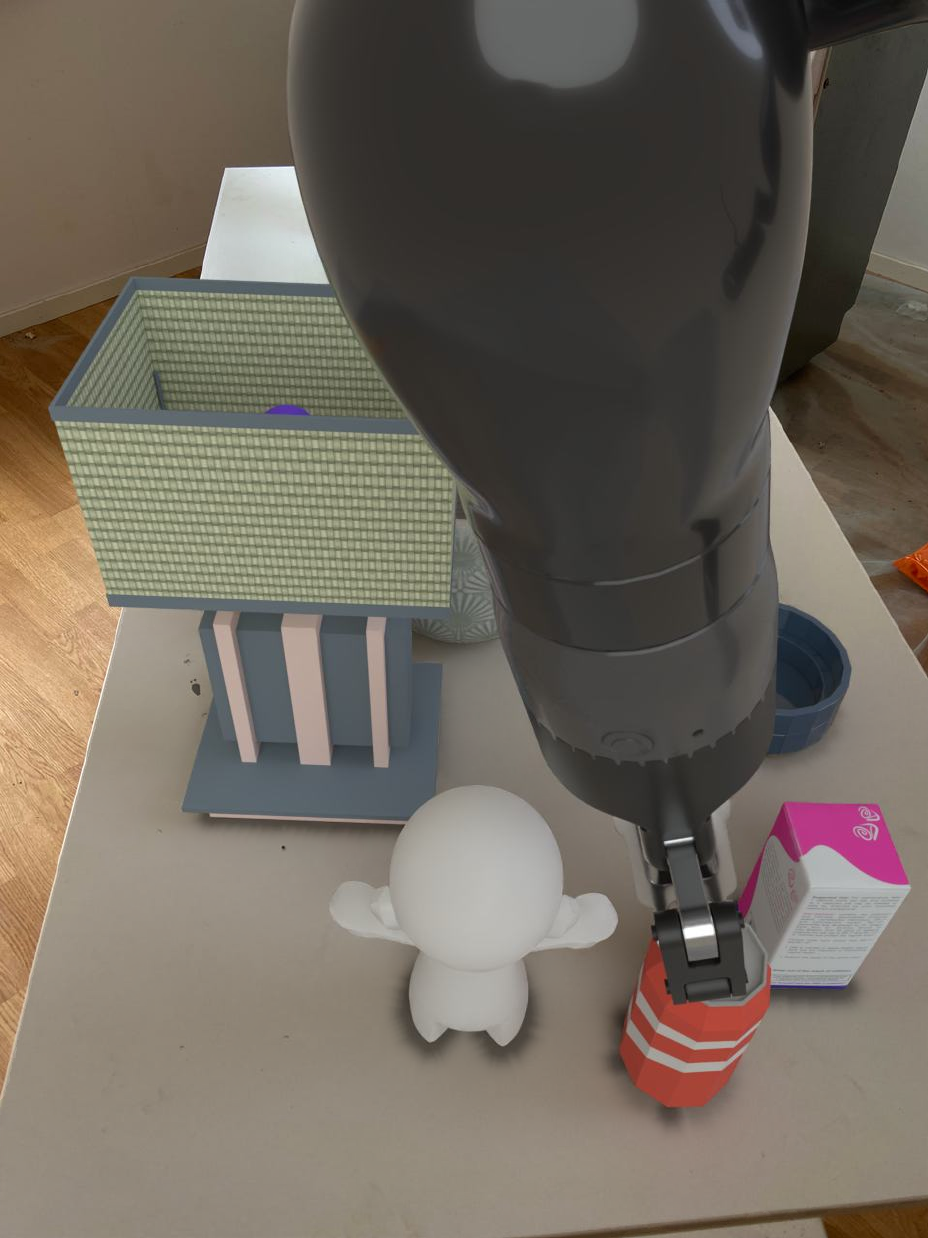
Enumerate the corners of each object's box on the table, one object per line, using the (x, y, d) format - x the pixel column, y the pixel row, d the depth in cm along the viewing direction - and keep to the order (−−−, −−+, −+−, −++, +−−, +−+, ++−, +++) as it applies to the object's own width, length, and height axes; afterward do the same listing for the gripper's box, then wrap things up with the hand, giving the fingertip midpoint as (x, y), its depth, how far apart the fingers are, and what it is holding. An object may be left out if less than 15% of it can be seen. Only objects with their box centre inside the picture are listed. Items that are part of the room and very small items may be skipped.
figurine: (595, 957, 60) (645, 755, 46) (604, 1098, 54) (664, 914, 40) (344, 944, 60) (319, 739, 47) (324, 1083, 54) (289, 894, 40)
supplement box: (849, 990, 59) (915, 891, 51) (752, 990, 59) (803, 890, 51) (823, 904, 63) (880, 800, 55) (733, 903, 63) (777, 799, 55)
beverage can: (691, 988, 59) (734, 882, 51) (748, 1092, 55) (805, 994, 46) (600, 1021, 57) (630, 917, 49) (652, 1130, 53) (693, 1037, 45)
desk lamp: (452, 685, 76) (463, 286, 54) (444, 839, 66) (454, 426, 43) (219, 676, 76) (132, 273, 54) (176, 829, 66) (45, 411, 43)
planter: (385, 692, 76) (378, 540, 65) (345, 556, 87) (334, 408, 77) (589, 654, 79) (614, 504, 69) (524, 528, 91) (537, 383, 80)
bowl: (857, 692, 77) (878, 648, 73) (786, 787, 70) (805, 743, 67) (721, 621, 82) (734, 577, 79) (643, 702, 76) (654, 657, 72)
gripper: (852, 850, 23) (817, 1022, 36) (714, 438, 31) (726, 695, 44) (540, 900, 24) (614, 1049, 37) (489, 488, 33) (564, 725, 45)
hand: (675, 856), depth 40 cm, fingers open, 8 cm apart
